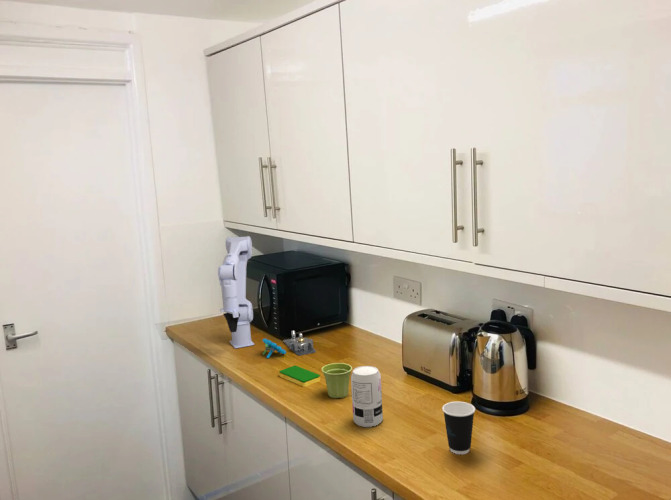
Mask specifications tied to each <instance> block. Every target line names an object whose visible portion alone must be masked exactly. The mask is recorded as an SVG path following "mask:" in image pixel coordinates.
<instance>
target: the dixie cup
mask: <svg viewBox="0 0 671 500" xmlns="http://www.w3.org/2000/svg"><path fill="white" fill-rule="evenodd" d="M475 411H476V407H475V406H474V405H473V404H472V403H470V402H465V401H450V402H447V403H445V404H443V405H442V412H443V417H444V423H445V430H446V437H447V438H446V439H447V443H448V448H449V450H450V452H451V453H452V452H453V453H452V454H454V453H455V455H460V454H461V456H462V455H466V454H468V453H469V452H470V449H471V447H472V438H473V437H472V436H473V428H474V417H475V416H474V415H475Z"/></svg>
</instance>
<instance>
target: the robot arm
mask: <svg viewBox="0 0 671 500" xmlns="http://www.w3.org/2000/svg"><path fill="white" fill-rule="evenodd" d="M252 247H253V243H252V237H250V235H247V236H235V237H233V236H231V237H229V236H227V238H226V239H225V250H226V255H225V256H224V259H223V262H222V264H221V265H220V266H218V267H217V276H218V280H219V286H221V287H220V288H221V295H222V296H221V298H222V299H221V300H222V308H220V309H219V311H220V312H221V313H222V312H223V313H222V314H223V316H224V318H225V320H226V322H227V326H228V328H229V332H230V333H231V340H229V343H230V344H231V345H232V347H233V348H234V349H240V348H245V347H250V346H254V345H255V343H254V342H253V340H252V336H251V335H252V333H251V332H252V331H251V322H252V321H253V319H254V309H253V304H252V302H251V301H250V300H248V299H247V297H246V296H247V295H246V294H247V264H248V260H250V259H251V258H252V255H253V253H252V251H253V248H252ZM224 312H225V313H224Z"/></svg>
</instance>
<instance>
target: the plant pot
mask: <svg viewBox="0 0 671 500" xmlns="http://www.w3.org/2000/svg"><path fill="white" fill-rule="evenodd" d="M352 371H353V367H352V366H351V364H348V363H345V362H344V363H343V362H333V363H329V364H325V365H324V366H322V367H321V372H322V373H323V376H324V379H325V384H326V388H327V389H326V390H327V395H328V397H330V398H333V399H338V398H341V399H343V398H345V397H347V396H348V395H349V386H350V379H351V375H352Z"/></svg>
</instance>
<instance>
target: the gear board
mask: <svg viewBox="0 0 671 500" xmlns="http://www.w3.org/2000/svg"><path fill="white" fill-rule="evenodd" d="M282 342H284V343H285V344H284V343H283V344H284V345H285V346H287V347H288V349H289V350H291V351H292V352H293V353H294V354H295V355H297V356H304V355H310V354H314V353H316V352H317V349H315V348H314V339H312V338H310V339H309V338H308V337H303V333H302V332H299V333H298V337H296V331H295V330H291V338H288V339H283V340H282Z"/></svg>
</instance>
